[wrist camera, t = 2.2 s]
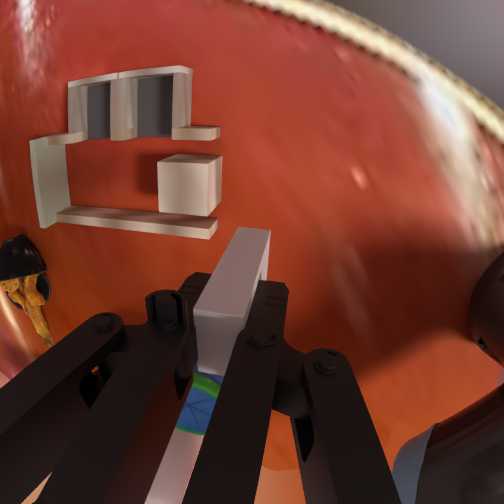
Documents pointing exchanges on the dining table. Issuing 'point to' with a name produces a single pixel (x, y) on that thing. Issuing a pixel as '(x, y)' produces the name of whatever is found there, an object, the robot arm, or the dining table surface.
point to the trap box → (118, 128)
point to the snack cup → (199, 403)
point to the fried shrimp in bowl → (25, 281)
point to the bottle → (175, 468)
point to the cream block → (189, 184)
